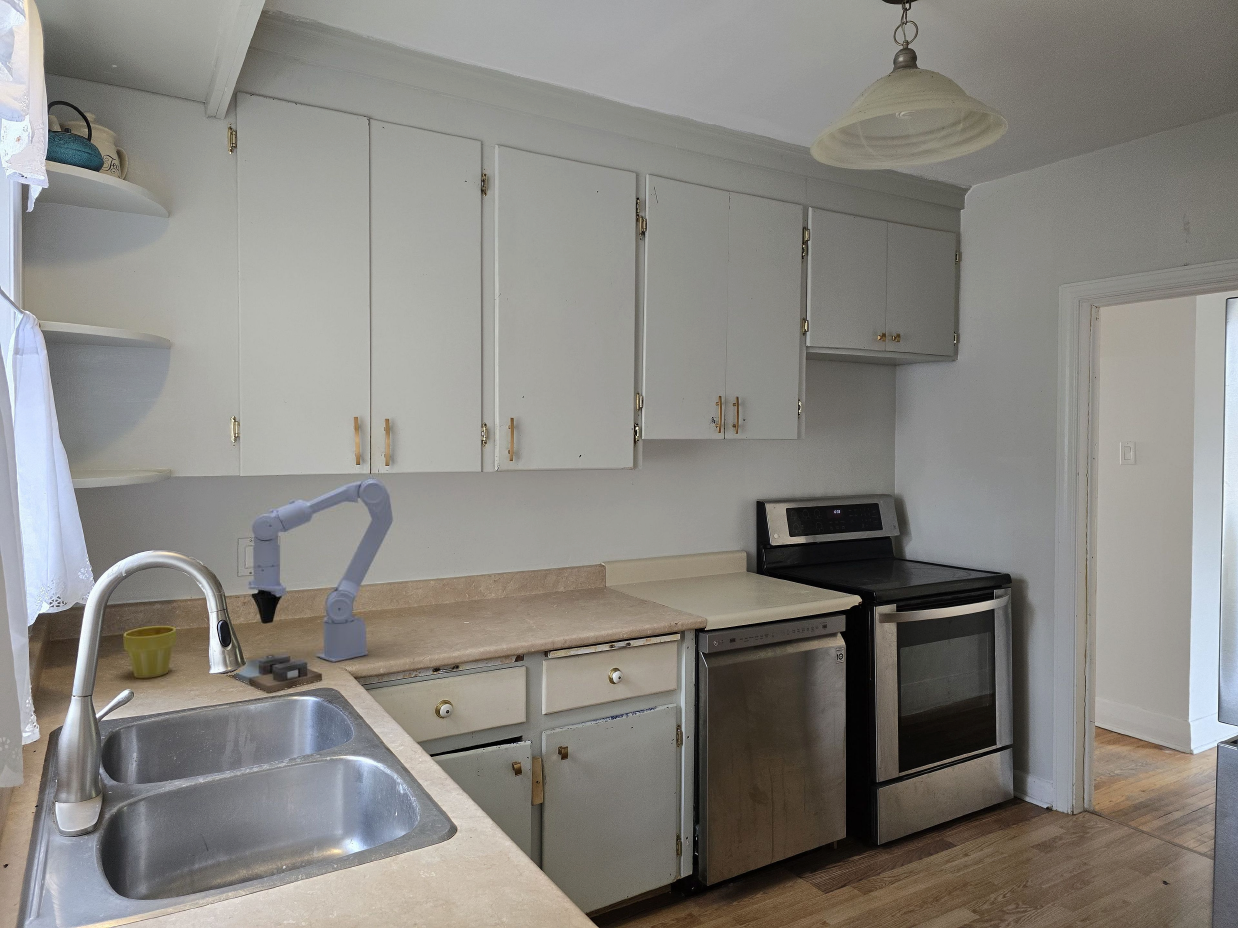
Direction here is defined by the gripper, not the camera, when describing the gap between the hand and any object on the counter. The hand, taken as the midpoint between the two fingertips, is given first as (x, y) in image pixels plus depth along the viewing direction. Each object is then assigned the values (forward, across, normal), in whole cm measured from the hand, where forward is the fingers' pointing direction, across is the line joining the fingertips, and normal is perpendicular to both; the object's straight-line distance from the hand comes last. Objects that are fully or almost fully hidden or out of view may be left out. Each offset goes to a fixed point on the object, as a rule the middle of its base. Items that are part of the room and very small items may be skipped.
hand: (267, 622), depth 196 cm
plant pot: (+10, -10, -22) cm, 26 cm away
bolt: (+8, +16, -5) cm, 19 cm away
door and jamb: (+9, +12, -5) cm, 16 cm away
